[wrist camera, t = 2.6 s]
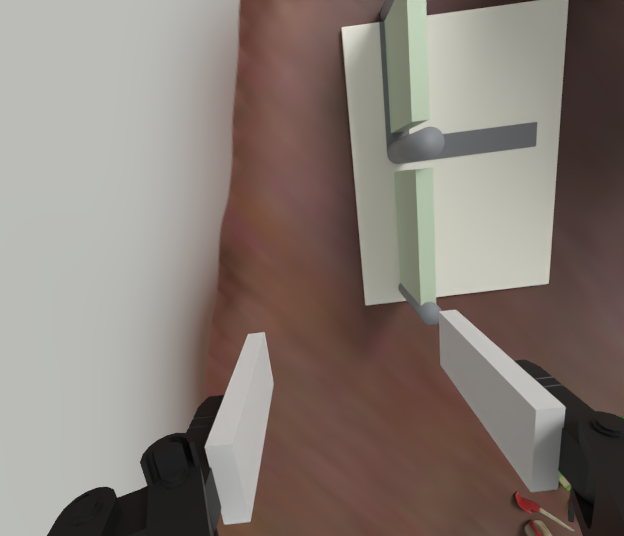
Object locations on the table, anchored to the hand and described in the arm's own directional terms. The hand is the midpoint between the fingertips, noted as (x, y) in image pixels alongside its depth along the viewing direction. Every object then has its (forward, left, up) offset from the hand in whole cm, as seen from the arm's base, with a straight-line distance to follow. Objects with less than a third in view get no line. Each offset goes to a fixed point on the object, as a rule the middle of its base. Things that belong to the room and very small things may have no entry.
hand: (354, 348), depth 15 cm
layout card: (-7, +12, -17) cm, 22 cm away
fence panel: (-2, +7, -16) cm, 18 cm away
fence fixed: (-14, +7, -17) cm, 23 cm away
